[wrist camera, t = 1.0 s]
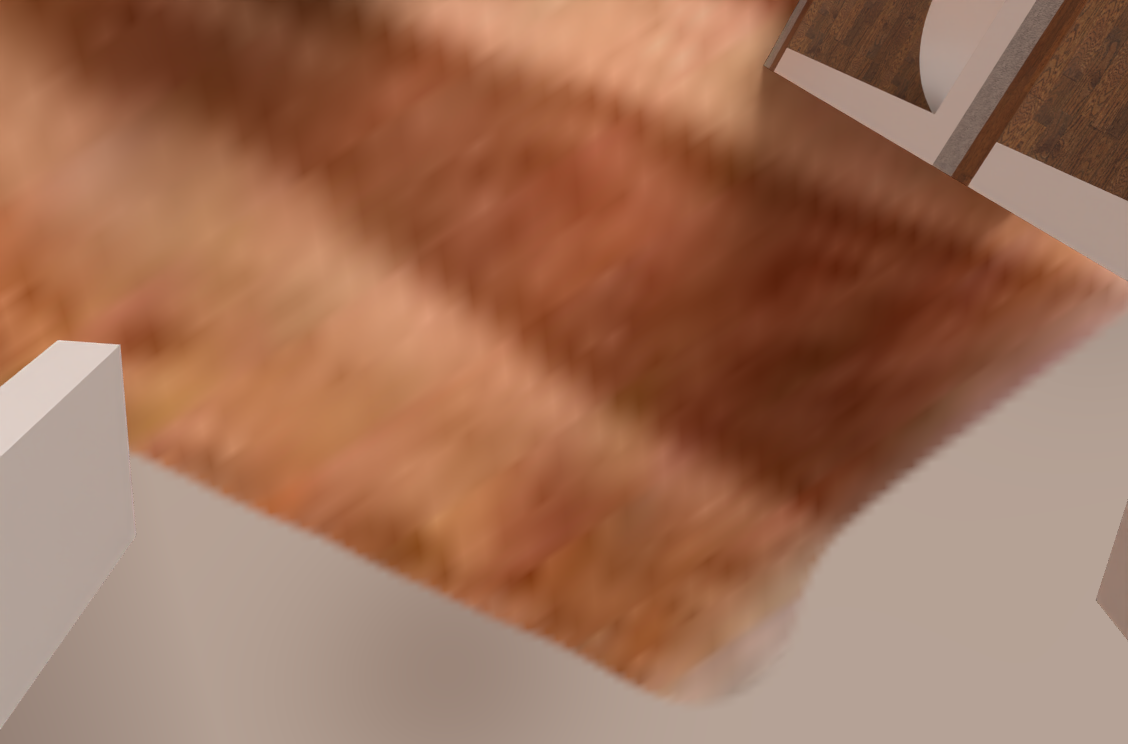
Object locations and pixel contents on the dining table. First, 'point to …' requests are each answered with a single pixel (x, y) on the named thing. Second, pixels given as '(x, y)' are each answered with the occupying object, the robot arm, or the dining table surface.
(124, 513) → the robot arm
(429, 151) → the dining table surface
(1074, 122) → the white coffee maker
